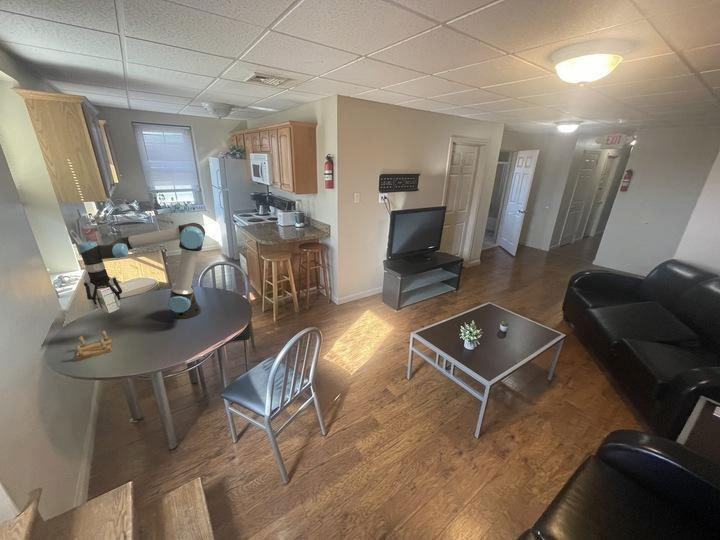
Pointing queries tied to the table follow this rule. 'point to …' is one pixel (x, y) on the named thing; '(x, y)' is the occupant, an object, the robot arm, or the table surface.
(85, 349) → the peg rack
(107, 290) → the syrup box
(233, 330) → the table surface
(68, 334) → the table surface
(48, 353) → the table surface
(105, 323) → the table surface
